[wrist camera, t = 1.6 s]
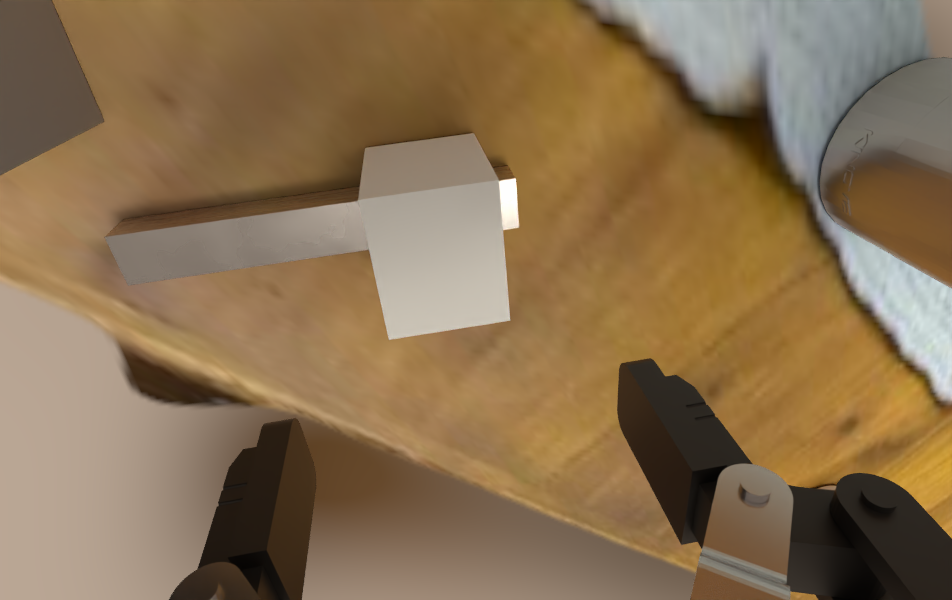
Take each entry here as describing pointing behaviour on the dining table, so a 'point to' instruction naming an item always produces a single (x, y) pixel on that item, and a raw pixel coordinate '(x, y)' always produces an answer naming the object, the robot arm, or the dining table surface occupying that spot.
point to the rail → (254, 233)
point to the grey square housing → (39, 84)
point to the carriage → (434, 235)
